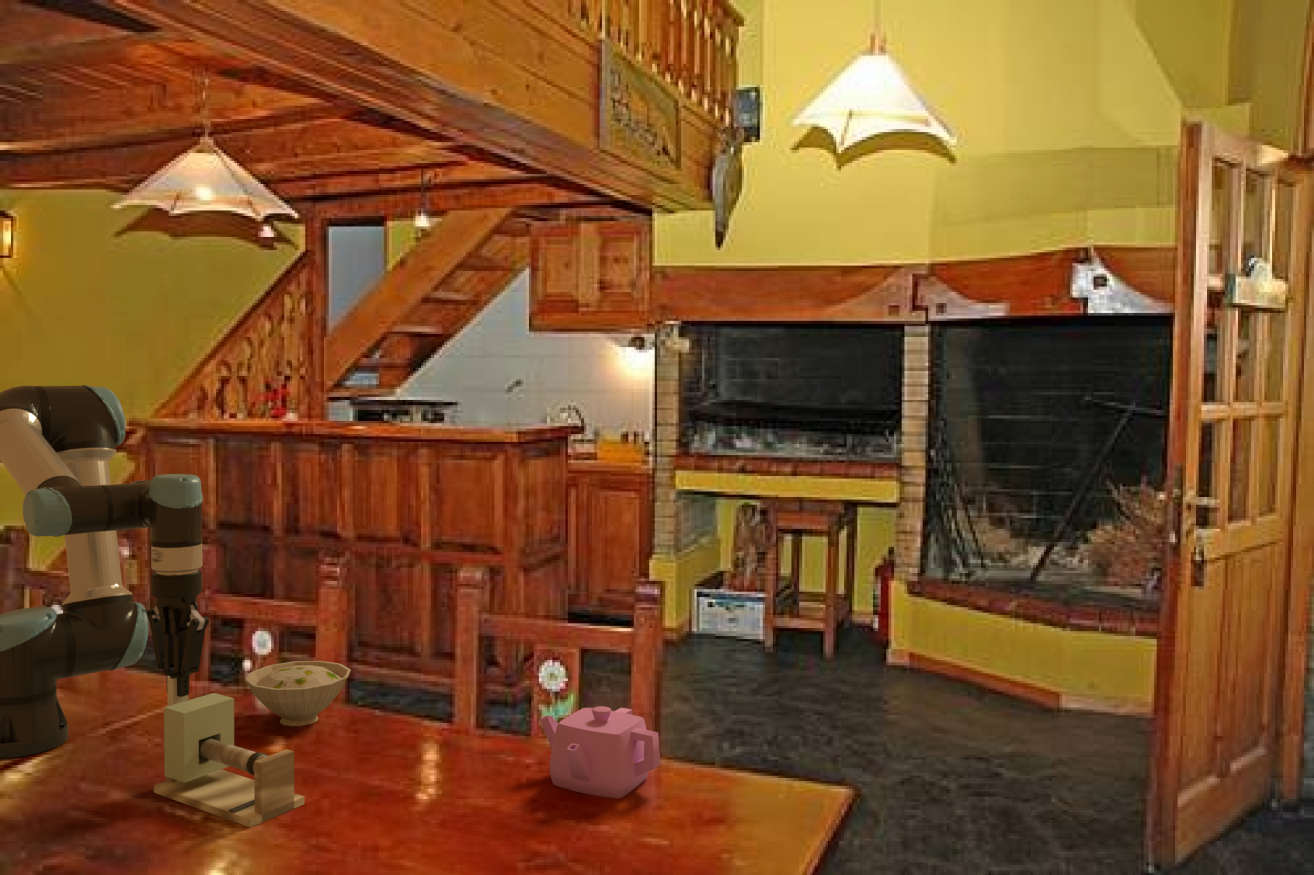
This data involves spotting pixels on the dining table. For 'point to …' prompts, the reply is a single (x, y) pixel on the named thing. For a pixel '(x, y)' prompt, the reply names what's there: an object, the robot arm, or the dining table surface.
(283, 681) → the bowl
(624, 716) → the teakettle
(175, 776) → the square sliding block
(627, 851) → the dining table surface
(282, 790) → the rail stand
